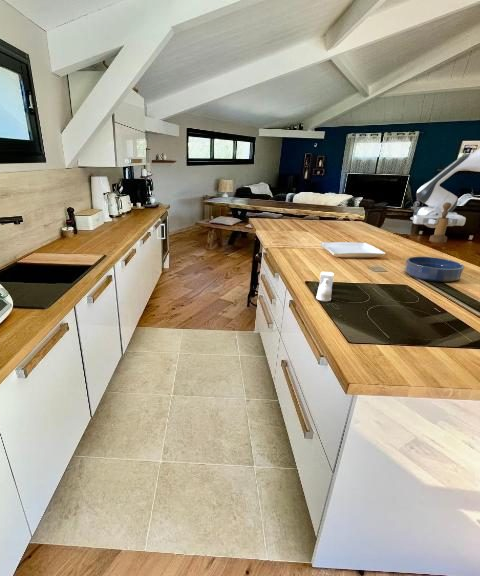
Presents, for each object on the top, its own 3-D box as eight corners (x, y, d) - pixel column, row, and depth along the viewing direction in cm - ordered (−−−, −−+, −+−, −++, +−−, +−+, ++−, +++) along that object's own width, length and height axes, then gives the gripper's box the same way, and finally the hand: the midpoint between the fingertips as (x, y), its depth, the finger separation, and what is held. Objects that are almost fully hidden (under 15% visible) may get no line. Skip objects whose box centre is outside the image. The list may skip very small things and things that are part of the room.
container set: (319, 283, 134) (320, 271, 132) (332, 284, 132) (334, 272, 130) (315, 300, 117) (317, 286, 115) (330, 302, 115) (332, 288, 113)
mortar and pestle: (426, 239, 152) (436, 201, 145) (441, 240, 150) (452, 201, 144) (433, 242, 146) (443, 203, 139) (449, 243, 144) (460, 203, 138)
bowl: (450, 270, 147) (453, 258, 145) (468, 285, 129) (472, 271, 127) (399, 267, 154) (402, 255, 152) (410, 280, 136) (413, 266, 134)
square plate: (364, 248, 191) (365, 241, 190) (385, 260, 166) (387, 252, 164) (318, 247, 194) (319, 241, 192) (332, 259, 168) (333, 252, 167)
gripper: (410, 211, 158) (418, 215, 146) (460, 212, 151) (472, 216, 139) (407, 223, 161) (415, 228, 149) (456, 225, 154) (468, 230, 142)
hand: (443, 222), depth 144 cm, fingers closed on mortar and pestle, 4 cm apart
